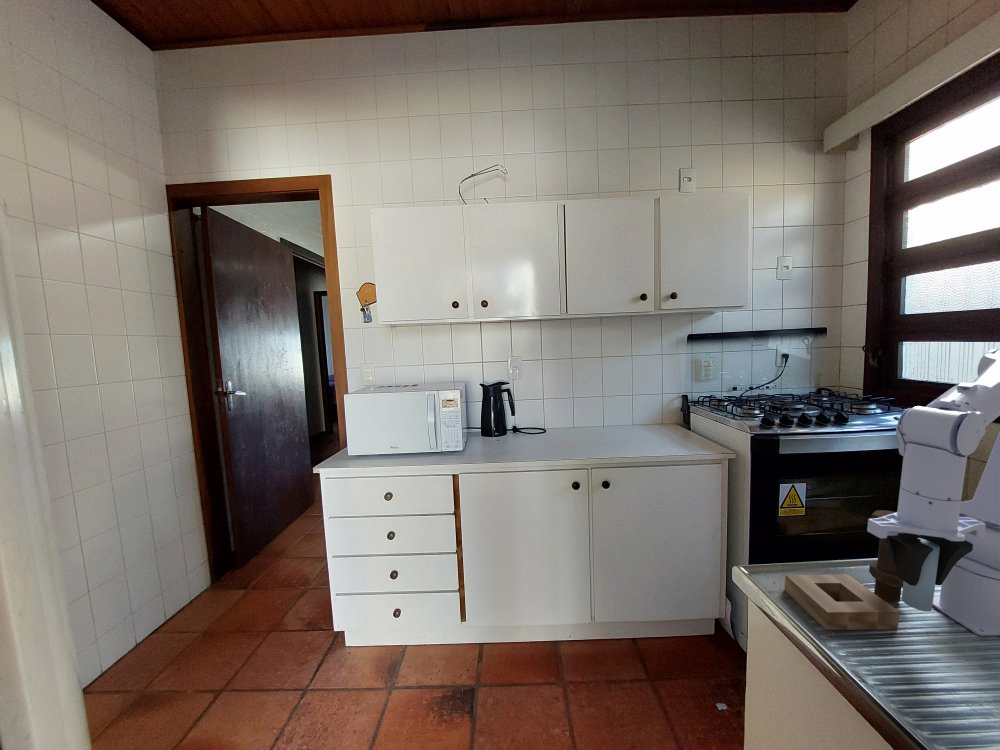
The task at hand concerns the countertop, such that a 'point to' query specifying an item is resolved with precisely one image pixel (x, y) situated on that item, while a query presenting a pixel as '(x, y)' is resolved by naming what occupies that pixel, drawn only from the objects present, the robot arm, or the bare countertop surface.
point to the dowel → (923, 582)
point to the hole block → (852, 612)
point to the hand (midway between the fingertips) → (918, 580)
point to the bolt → (885, 570)
